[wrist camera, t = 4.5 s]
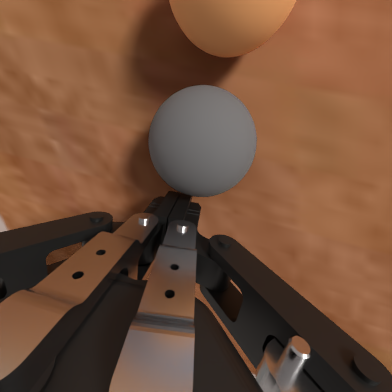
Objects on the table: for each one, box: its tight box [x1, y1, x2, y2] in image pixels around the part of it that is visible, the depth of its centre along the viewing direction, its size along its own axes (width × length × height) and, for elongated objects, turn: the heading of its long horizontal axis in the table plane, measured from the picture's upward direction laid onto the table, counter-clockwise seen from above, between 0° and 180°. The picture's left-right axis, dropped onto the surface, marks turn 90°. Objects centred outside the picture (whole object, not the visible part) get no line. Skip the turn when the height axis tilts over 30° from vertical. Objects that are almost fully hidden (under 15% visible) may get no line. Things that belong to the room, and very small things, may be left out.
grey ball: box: [148, 85, 257, 197], centre depth 11 cm, size 6×6×6 cm
